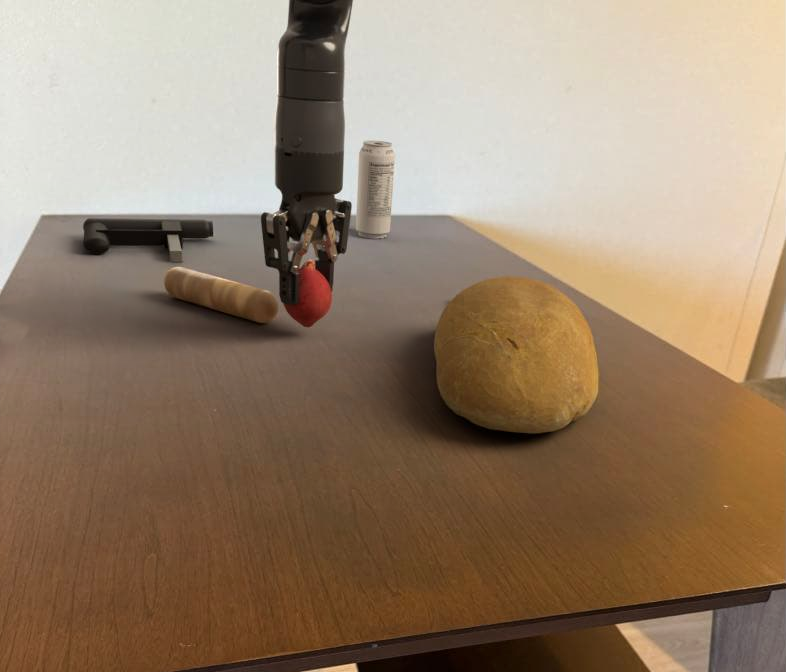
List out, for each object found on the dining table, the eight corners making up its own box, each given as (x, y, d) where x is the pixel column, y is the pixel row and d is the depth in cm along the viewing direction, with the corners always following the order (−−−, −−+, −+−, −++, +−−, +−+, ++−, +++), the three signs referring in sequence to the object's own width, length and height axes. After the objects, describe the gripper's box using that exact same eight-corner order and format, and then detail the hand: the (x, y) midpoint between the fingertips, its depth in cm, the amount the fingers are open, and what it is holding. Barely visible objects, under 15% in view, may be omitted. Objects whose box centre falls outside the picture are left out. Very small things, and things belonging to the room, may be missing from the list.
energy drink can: (381, 230, 154) (386, 140, 146) (394, 239, 149) (401, 145, 141) (350, 231, 151) (354, 139, 143) (363, 239, 147) (367, 145, 139)
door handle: (221, 245, 127) (210, 214, 139) (80, 245, 122) (82, 213, 134) (222, 267, 129) (211, 235, 141) (83, 268, 124) (84, 234, 136)
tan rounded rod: (158, 297, 112) (156, 267, 110) (180, 291, 115) (178, 261, 113) (264, 329, 104) (264, 297, 102) (285, 322, 107) (285, 290, 105)
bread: (432, 443, 80) (443, 341, 75) (431, 325, 110) (439, 246, 105) (625, 458, 81) (649, 357, 75) (572, 336, 110) (587, 258, 105)
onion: (304, 338, 99) (306, 269, 95) (272, 325, 103) (272, 257, 98) (340, 329, 103) (343, 262, 99) (308, 316, 106) (309, 251, 102)
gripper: (321, 134, 99) (318, 279, 108) (238, 144, 88) (242, 304, 97) (375, 143, 96) (366, 292, 105) (295, 154, 85) (293, 319, 94)
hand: (306, 297), depth 101 cm, fingers closed on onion, 6 cm apart
